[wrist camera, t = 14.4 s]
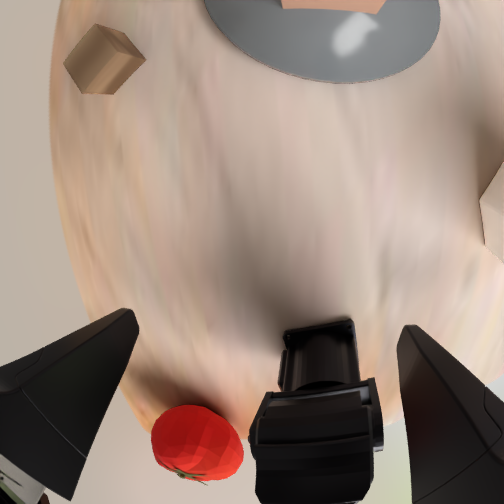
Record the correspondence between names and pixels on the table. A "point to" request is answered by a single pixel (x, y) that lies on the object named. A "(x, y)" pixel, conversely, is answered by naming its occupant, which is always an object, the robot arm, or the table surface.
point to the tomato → (196, 444)
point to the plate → (330, 37)
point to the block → (103, 61)
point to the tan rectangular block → (336, 5)
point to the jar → (494, 215)
